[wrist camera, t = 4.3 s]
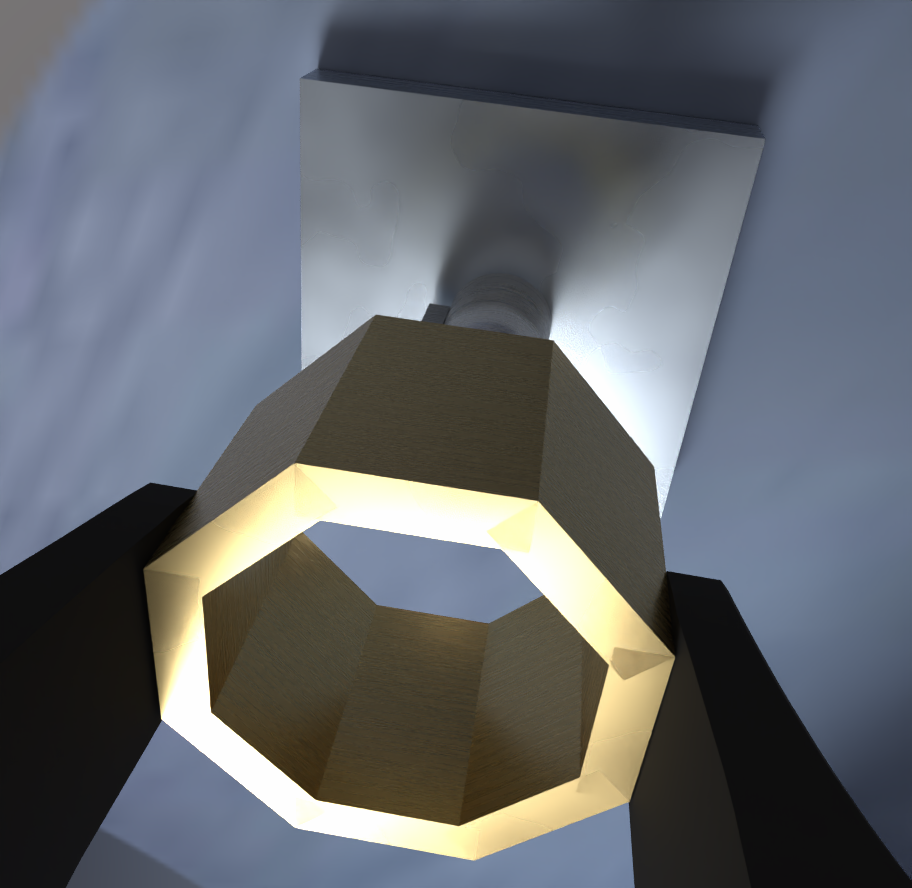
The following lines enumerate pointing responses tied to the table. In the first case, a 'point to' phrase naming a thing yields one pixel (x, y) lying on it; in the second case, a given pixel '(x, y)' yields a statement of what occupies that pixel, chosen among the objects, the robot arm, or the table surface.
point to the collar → (415, 633)
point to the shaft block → (526, 230)
